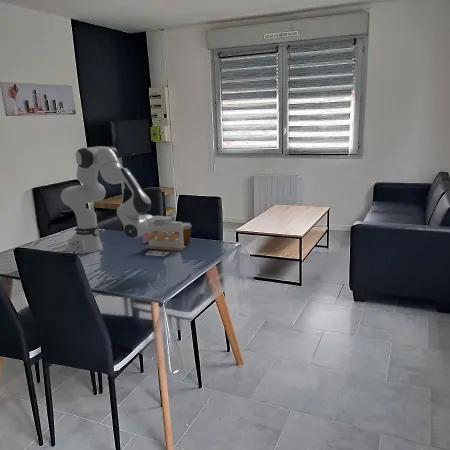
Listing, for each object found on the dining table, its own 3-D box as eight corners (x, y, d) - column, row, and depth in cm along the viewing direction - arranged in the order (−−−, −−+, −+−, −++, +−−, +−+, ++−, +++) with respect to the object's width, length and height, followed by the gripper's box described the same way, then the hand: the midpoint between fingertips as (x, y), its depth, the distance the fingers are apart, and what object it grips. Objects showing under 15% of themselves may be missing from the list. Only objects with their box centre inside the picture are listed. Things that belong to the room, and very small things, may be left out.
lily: (137, 242, 268) (134, 231, 261) (151, 232, 274) (148, 221, 267) (150, 251, 262) (147, 240, 255) (164, 240, 268) (161, 229, 261)
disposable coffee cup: (188, 245, 253) (187, 226, 250) (174, 244, 256) (173, 225, 253) (194, 241, 262) (193, 222, 259) (180, 240, 265) (179, 222, 262)
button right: (168, 241, 242) (168, 235, 241) (173, 238, 248) (172, 232, 247) (174, 241, 241) (173, 235, 240) (178, 238, 247) (178, 232, 246)
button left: (146, 240, 246) (146, 234, 245) (151, 237, 252) (151, 231, 251) (152, 240, 245) (151, 234, 244) (157, 237, 251) (156, 231, 250)
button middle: (157, 240, 244) (157, 234, 243) (162, 237, 250) (162, 231, 249) (163, 241, 243) (162, 235, 242) (168, 238, 249) (167, 232, 248)
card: (145, 254, 240) (145, 253, 239) (150, 251, 245) (150, 250, 245) (164, 256, 236) (164, 255, 236) (168, 253, 241) (168, 252, 241)
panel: (147, 248, 252) (144, 222, 248) (152, 244, 258) (150, 219, 254) (180, 250, 245) (179, 223, 241) (185, 247, 251) (184, 221, 247)
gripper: (164, 217, 209) (176, 211, 222) (128, 216, 215) (142, 210, 228) (165, 230, 210) (177, 223, 223) (129, 228, 217) (143, 222, 230)
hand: (159, 217), depth 226 cm, fingers closed
